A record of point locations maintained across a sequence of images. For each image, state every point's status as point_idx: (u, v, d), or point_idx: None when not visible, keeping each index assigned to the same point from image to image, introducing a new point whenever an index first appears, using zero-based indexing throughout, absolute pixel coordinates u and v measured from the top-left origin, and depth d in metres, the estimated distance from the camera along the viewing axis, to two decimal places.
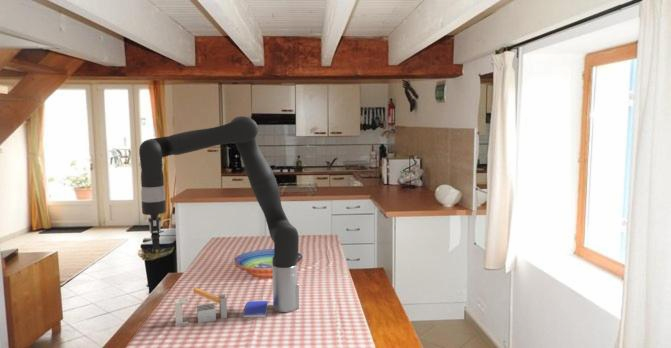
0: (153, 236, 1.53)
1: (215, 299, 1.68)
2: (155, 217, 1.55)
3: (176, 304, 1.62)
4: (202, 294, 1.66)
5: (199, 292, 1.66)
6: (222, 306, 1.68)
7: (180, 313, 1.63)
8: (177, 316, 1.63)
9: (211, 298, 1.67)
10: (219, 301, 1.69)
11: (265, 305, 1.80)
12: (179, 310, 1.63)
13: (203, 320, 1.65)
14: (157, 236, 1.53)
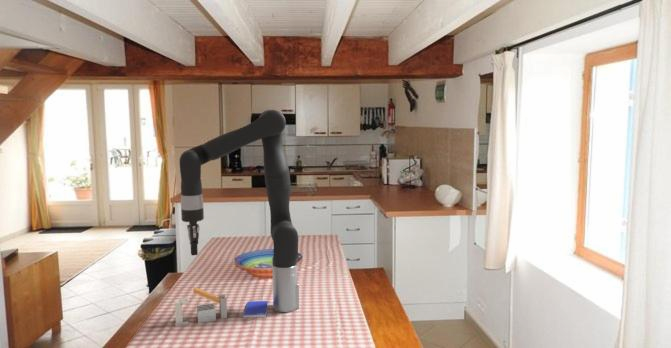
0: (192, 244, 1.64)
1: (215, 299, 1.68)
2: (194, 224, 1.63)
3: (176, 304, 1.62)
4: (202, 294, 1.66)
5: (199, 292, 1.66)
6: (222, 306, 1.68)
7: (180, 313, 1.63)
8: (177, 316, 1.63)
9: (211, 298, 1.67)
10: (219, 301, 1.69)
11: (265, 305, 1.80)
12: (179, 310, 1.63)
13: (203, 320, 1.65)
14: (196, 243, 1.65)
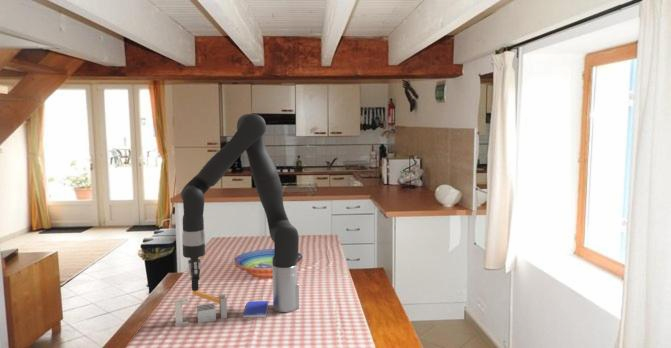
0: (193, 280, 1.62)
1: (215, 299, 1.68)
2: (196, 260, 1.61)
3: (176, 304, 1.62)
4: (201, 295, 1.66)
5: (198, 293, 1.66)
6: (222, 306, 1.68)
7: (180, 313, 1.63)
8: (177, 316, 1.63)
9: (211, 299, 1.67)
10: (219, 301, 1.69)
11: (265, 305, 1.80)
12: (179, 310, 1.63)
13: (203, 320, 1.65)
14: (197, 279, 1.63)
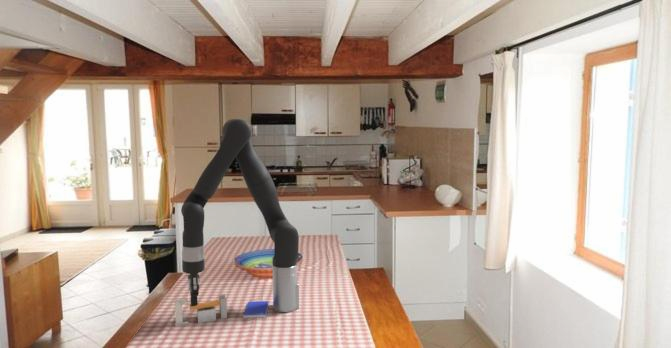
0: (192, 295, 1.63)
1: (214, 304, 1.68)
2: (195, 276, 1.62)
3: (176, 304, 1.62)
4: (199, 307, 1.66)
5: (195, 307, 1.66)
6: (222, 306, 1.68)
7: (180, 313, 1.63)
8: (177, 316, 1.63)
9: (209, 305, 1.67)
10: (218, 303, 1.69)
11: (266, 305, 1.80)
12: (179, 310, 1.63)
13: (203, 320, 1.65)
14: (196, 294, 1.63)
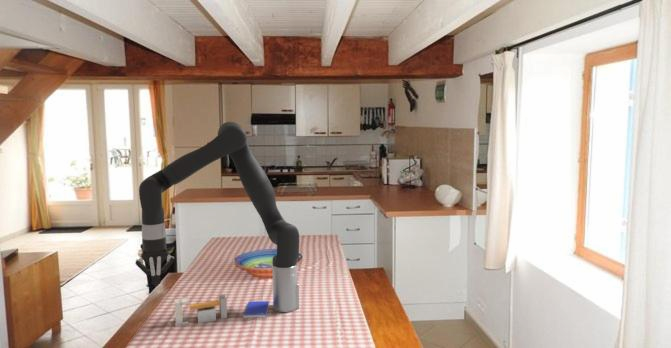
0: None
1: (214, 304, 1.68)
2: (142, 253, 1.58)
3: (176, 304, 1.62)
4: (199, 307, 1.66)
5: (195, 307, 1.66)
6: (222, 306, 1.68)
7: (180, 313, 1.63)
8: (177, 316, 1.63)
9: (209, 305, 1.67)
10: (218, 303, 1.69)
11: (266, 305, 1.80)
12: (179, 310, 1.63)
13: (203, 320, 1.65)
14: None
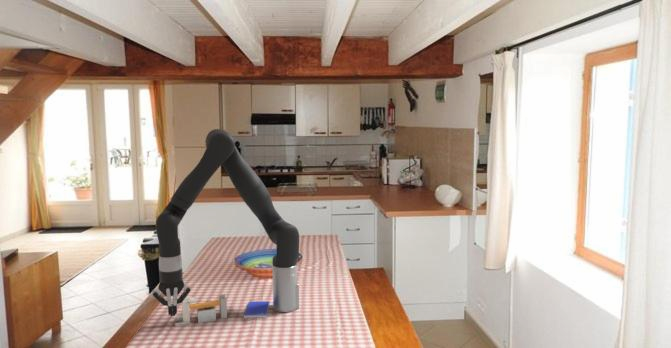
0: None
1: (214, 304, 1.68)
2: (159, 284, 1.61)
3: (183, 303, 1.63)
4: (199, 307, 1.66)
5: (195, 307, 1.66)
6: (222, 306, 1.68)
7: (187, 312, 1.64)
8: (184, 315, 1.64)
9: (209, 305, 1.67)
10: (218, 303, 1.69)
11: (266, 305, 1.80)
12: (186, 309, 1.64)
13: (203, 320, 1.65)
14: None
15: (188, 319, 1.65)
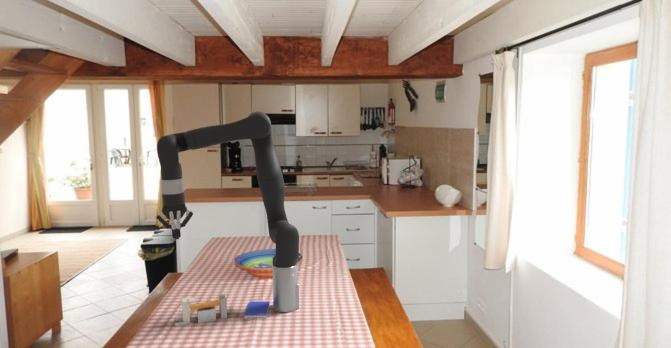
0: None
1: (214, 304, 1.68)
2: (163, 207, 1.65)
3: (183, 303, 1.63)
4: (199, 307, 1.66)
5: (195, 307, 1.66)
6: (222, 306, 1.68)
7: (187, 312, 1.64)
8: (184, 315, 1.64)
9: (209, 305, 1.67)
10: (218, 303, 1.69)
11: (267, 306, 1.80)
12: (186, 309, 1.64)
13: (203, 320, 1.65)
14: (166, 226, 1.66)
15: (188, 319, 1.65)
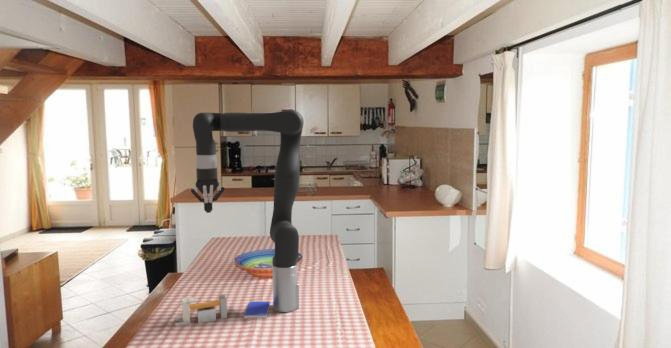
0: None
1: (214, 304, 1.68)
2: None
3: (183, 303, 1.63)
4: (199, 307, 1.66)
5: (195, 307, 1.66)
6: (222, 306, 1.68)
7: (187, 312, 1.64)
8: (184, 315, 1.64)
9: (209, 305, 1.67)
10: (218, 303, 1.69)
11: (267, 306, 1.80)
12: (186, 309, 1.64)
13: (203, 320, 1.65)
14: (199, 200, 1.75)
15: (188, 319, 1.65)
